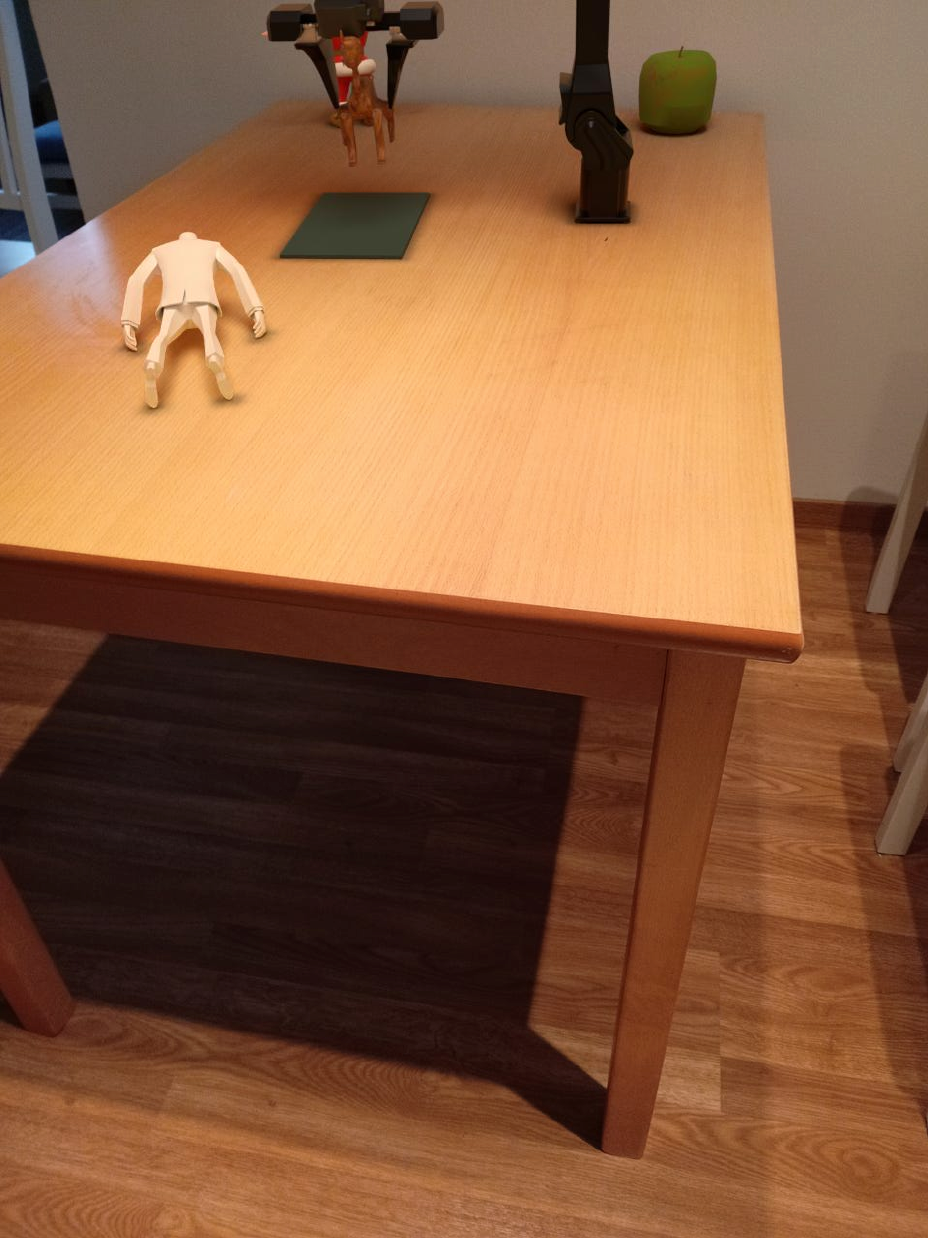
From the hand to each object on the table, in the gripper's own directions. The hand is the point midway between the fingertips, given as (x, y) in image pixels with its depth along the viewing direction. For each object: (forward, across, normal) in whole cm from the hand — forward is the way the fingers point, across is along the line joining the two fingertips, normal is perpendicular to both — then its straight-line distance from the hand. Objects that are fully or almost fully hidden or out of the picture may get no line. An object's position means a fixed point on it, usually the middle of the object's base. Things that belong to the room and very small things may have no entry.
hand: (363, 108), depth 112 cm
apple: (+12, +37, +40) cm, 56 cm away
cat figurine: (+5, 0, 0) cm, 5 cm away
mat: (+12, -1, -3) cm, 12 cm away
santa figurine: (+12, -12, +43) cm, 46 cm away
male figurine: (+12, -10, -37) cm, 40 cm away
